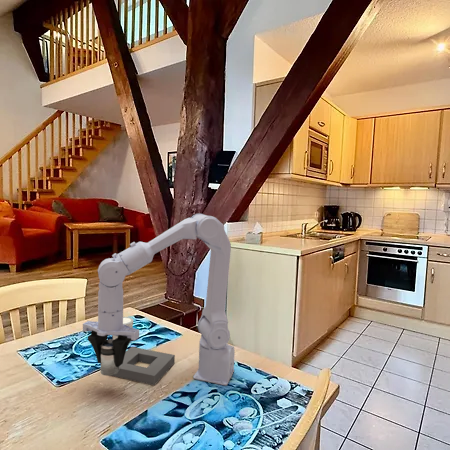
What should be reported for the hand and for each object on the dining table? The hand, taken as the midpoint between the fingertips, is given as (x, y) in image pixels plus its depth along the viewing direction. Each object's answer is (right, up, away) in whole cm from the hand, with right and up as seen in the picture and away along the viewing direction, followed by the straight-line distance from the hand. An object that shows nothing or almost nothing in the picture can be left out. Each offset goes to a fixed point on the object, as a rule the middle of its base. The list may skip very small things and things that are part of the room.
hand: (110, 363), depth 82 cm
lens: (0, -2, 0) cm, 2 cm away
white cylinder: (-6, -5, +28) cm, 29 cm away
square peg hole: (+5, -6, +12) cm, 14 cm away
